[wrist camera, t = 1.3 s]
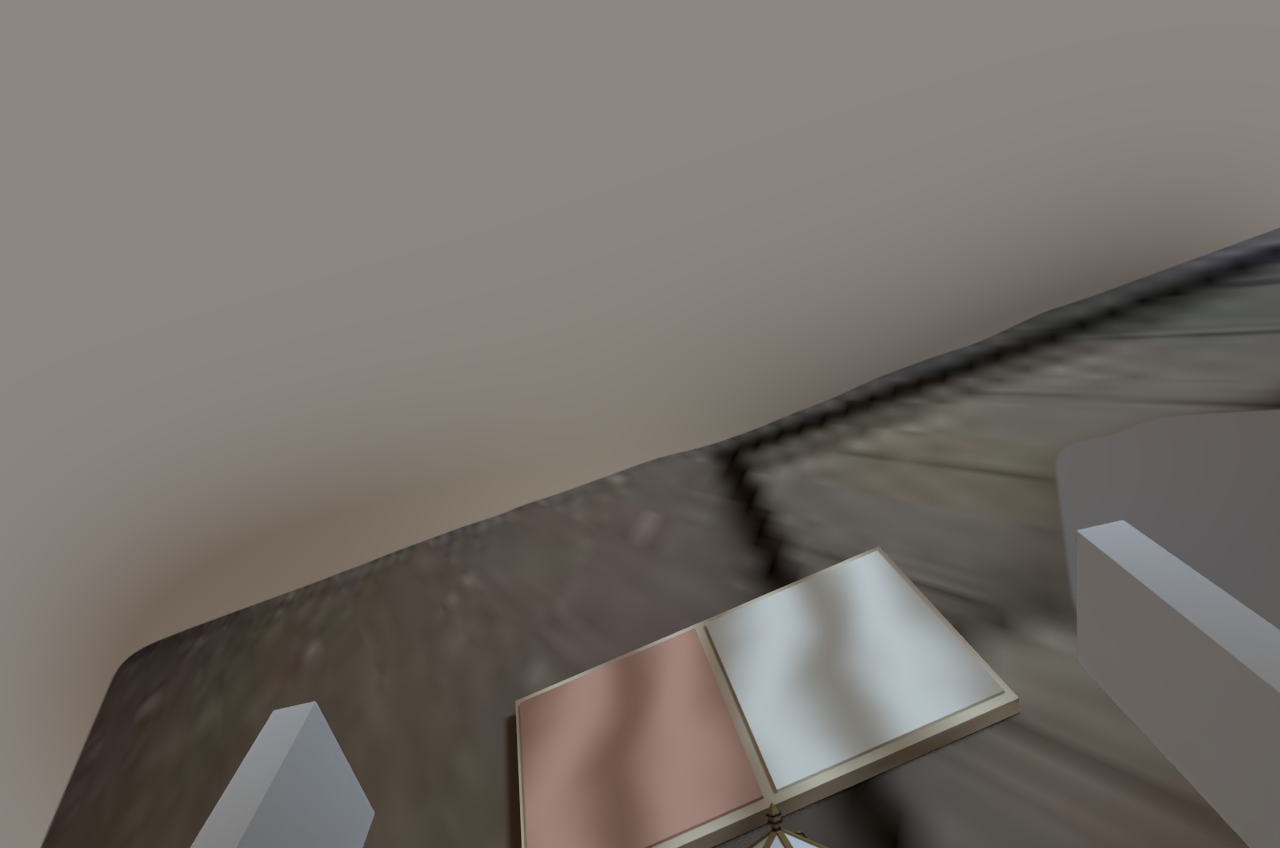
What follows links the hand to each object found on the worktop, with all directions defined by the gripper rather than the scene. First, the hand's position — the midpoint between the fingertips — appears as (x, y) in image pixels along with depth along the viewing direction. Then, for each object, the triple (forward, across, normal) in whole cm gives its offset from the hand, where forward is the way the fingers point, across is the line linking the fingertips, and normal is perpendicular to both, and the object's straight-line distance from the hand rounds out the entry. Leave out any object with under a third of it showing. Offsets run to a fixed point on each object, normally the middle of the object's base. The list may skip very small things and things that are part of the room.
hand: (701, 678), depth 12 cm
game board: (+20, 0, -21) cm, 29 cm away
